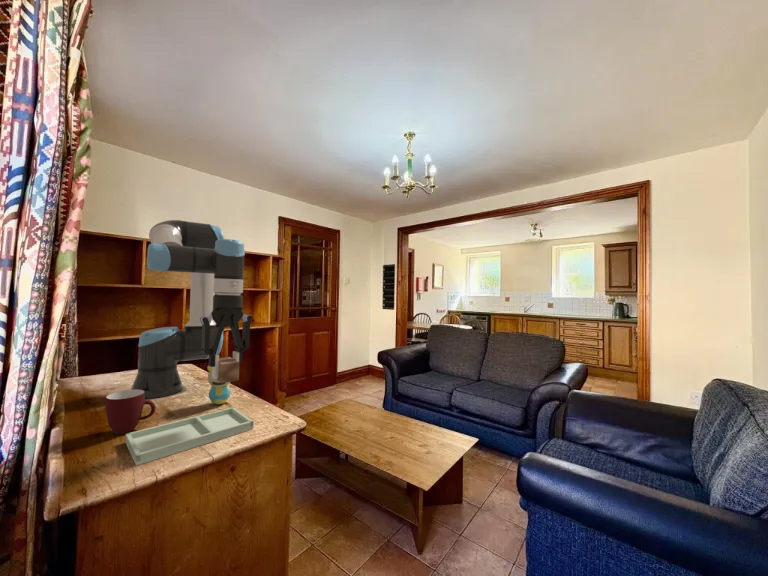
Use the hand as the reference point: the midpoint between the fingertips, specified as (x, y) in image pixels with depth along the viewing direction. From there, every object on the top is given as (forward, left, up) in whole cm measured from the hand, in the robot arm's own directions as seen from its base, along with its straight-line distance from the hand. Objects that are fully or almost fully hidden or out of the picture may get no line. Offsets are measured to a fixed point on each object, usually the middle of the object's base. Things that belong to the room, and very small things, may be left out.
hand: (225, 375), depth 88 cm
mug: (-15, -19, -15) cm, 28 cm away
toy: (-19, +5, -15) cm, 24 cm away
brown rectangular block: (0, 0, -1) cm, 1 cm away
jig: (0, -8, -14) cm, 16 cm away
